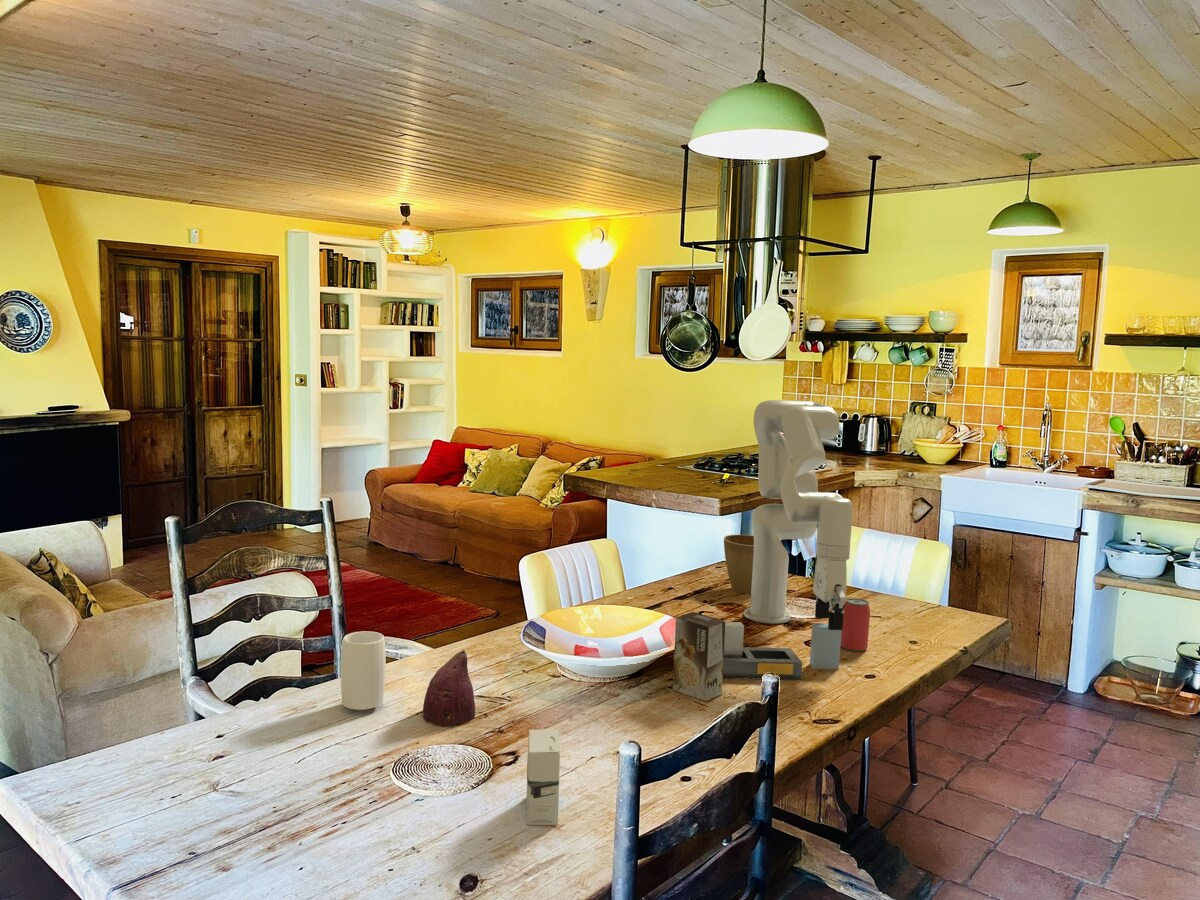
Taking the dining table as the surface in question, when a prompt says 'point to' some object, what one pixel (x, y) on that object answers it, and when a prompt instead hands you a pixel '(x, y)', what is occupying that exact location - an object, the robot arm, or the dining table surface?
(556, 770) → the ink box
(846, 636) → the beer can
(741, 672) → the rack
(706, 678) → the coffee box
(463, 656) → the vegetable
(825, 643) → the block
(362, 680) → the cup
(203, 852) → the dining table surface
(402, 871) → the dining table surface
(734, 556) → the plant pot
